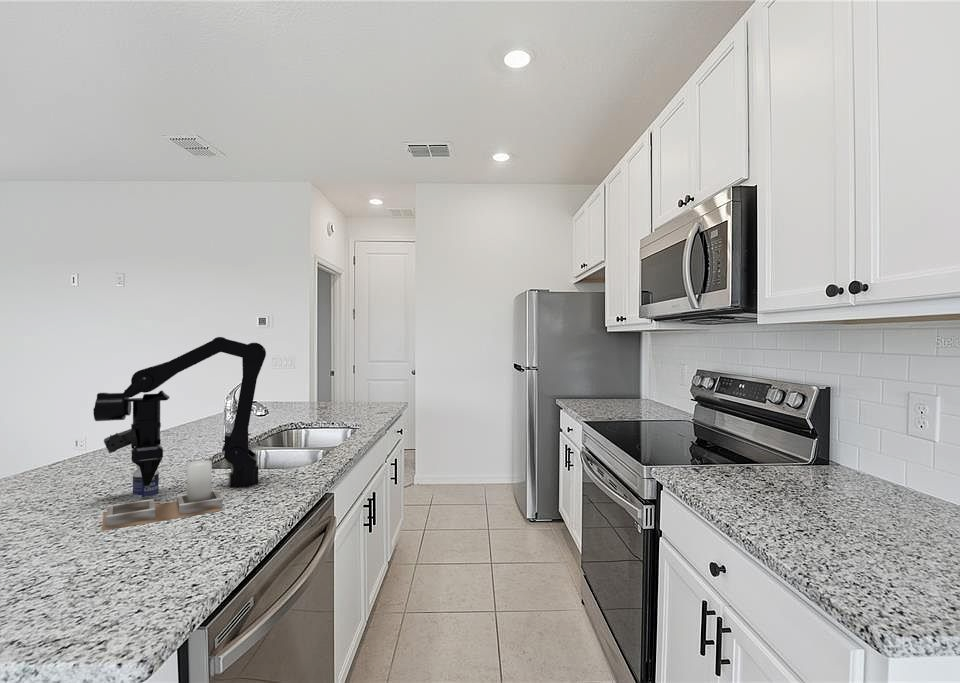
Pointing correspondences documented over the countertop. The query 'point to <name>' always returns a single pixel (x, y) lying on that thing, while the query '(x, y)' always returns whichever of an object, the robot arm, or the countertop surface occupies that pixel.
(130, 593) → the countertop surface
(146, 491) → the pill bottle
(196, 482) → the pin
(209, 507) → the board
